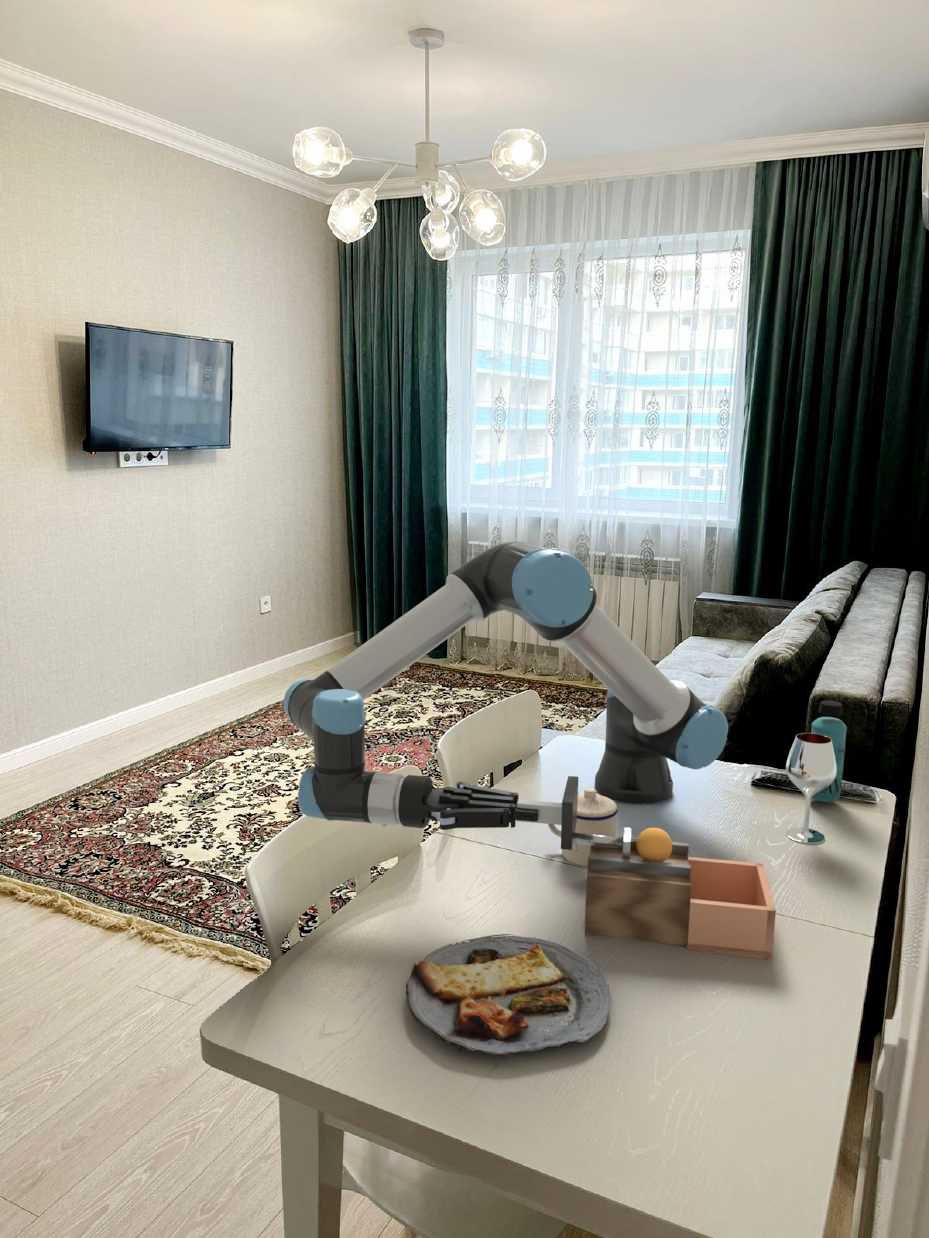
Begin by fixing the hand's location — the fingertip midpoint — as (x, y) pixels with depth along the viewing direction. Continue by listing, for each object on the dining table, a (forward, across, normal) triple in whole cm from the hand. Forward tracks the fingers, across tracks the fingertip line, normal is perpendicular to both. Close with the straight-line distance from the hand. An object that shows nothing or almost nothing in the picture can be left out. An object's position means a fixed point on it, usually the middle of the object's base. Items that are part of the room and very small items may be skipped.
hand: (562, 814), depth 131 cm
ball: (+13, -1, -4) cm, 14 cm away
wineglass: (+40, -35, -16) cm, 55 cm away
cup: (+24, -1, -15) cm, 28 cm away
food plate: (-4, +23, -16) cm, 28 cm away
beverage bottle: (+45, -52, -16) cm, 71 cm away
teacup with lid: (+1, -20, -16) cm, 25 cm away
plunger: (+5, -1, -6) cm, 8 cm away
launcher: (+11, -1, -15) cm, 19 cm away
